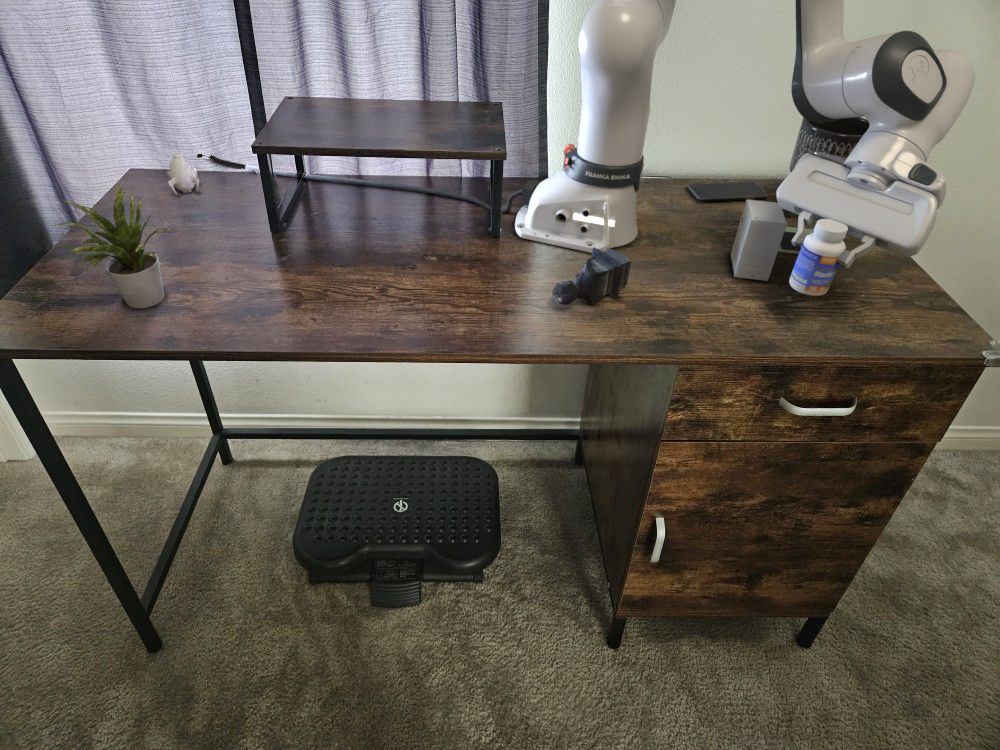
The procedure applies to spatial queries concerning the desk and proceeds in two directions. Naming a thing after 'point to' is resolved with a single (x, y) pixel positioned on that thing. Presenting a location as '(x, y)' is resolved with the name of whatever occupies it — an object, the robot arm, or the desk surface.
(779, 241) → the small box
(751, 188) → the smartphone
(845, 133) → the planter
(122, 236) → the house plant
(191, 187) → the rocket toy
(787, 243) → the felt pad
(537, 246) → the desk surface
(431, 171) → the desk surface
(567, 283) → the dark statue fragment
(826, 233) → the pill bottle
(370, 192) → the desk surface
